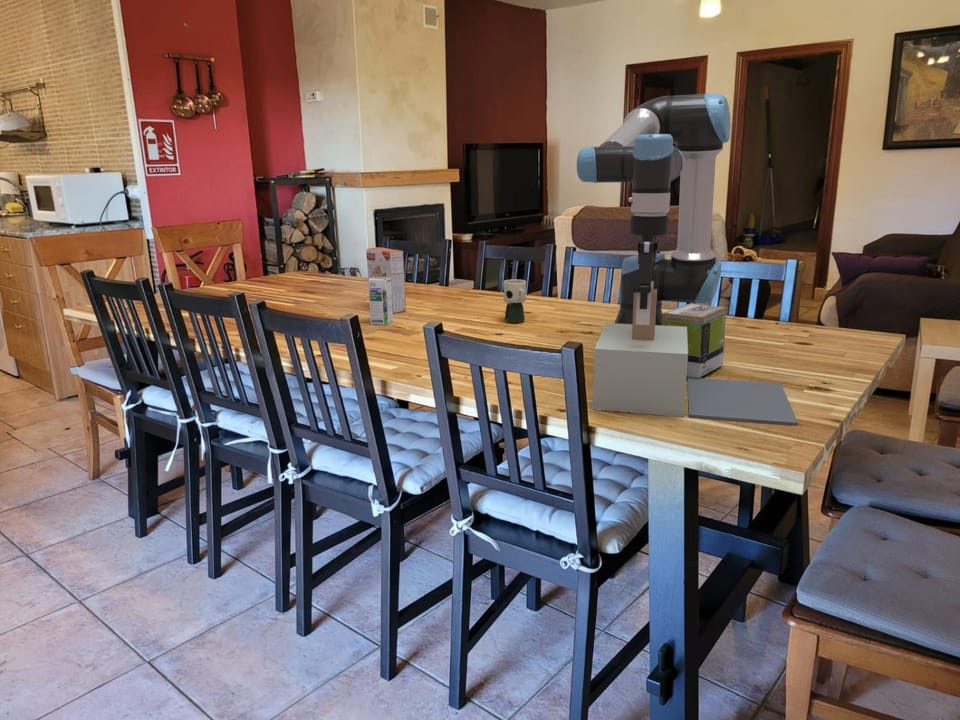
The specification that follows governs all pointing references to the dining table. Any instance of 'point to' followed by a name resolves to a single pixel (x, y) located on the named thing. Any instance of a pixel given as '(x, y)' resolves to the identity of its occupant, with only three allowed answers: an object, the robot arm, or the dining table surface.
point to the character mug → (514, 299)
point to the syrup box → (380, 300)
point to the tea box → (700, 335)
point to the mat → (739, 401)
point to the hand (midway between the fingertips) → (644, 317)
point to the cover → (641, 367)
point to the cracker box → (389, 272)
